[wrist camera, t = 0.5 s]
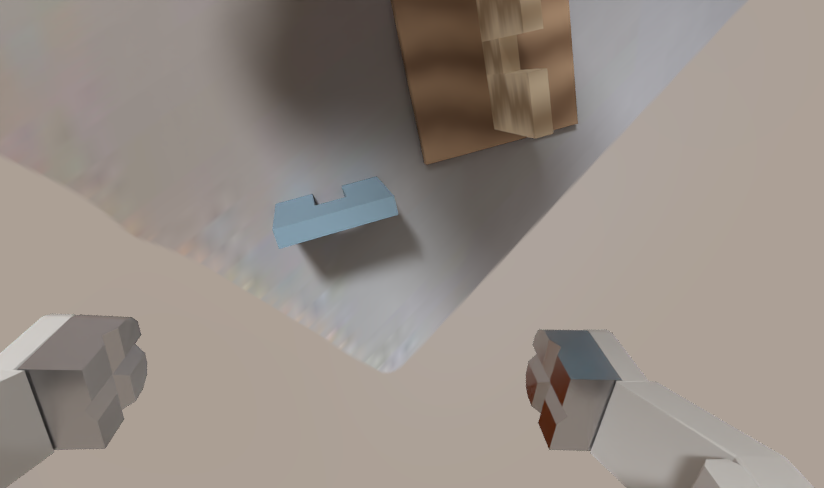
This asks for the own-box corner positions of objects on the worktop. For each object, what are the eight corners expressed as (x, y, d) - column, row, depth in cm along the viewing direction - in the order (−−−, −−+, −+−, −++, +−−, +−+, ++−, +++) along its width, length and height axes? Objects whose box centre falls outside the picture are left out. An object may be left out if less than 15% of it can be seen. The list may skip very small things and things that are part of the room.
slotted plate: (281, 220, 53) (279, 248, 44) (275, 204, 52) (272, 229, 43) (380, 192, 55) (398, 214, 45) (376, 176, 54) (393, 195, 45)
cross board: (385, -24, 47) (411, -53, 37) (559, -59, 50) (626, -95, 40) (424, 163, 55) (454, 181, 45) (573, 122, 58) (632, 131, 48)
